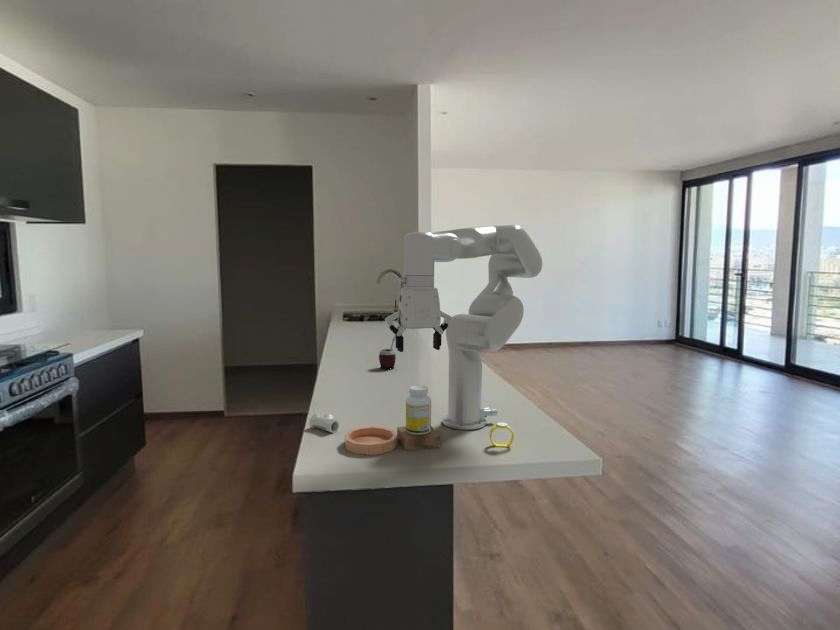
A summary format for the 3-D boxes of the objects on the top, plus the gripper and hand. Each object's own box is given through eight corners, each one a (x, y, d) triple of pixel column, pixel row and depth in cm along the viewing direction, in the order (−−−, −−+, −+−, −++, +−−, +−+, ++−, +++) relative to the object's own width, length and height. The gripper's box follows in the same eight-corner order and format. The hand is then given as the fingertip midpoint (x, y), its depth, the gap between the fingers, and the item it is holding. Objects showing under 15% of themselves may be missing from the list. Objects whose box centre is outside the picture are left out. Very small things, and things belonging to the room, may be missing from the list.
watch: (511, 445, 130) (514, 423, 130) (513, 449, 128) (515, 427, 127) (488, 443, 131) (490, 421, 130) (489, 447, 128) (491, 424, 127)
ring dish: (390, 433, 137) (390, 424, 137) (401, 451, 125) (401, 441, 125) (342, 438, 134) (342, 428, 134) (348, 456, 121) (348, 446, 121)
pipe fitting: (326, 424, 147) (309, 429, 141) (326, 411, 146) (309, 415, 141) (347, 429, 142) (330, 435, 136) (347, 416, 142) (330, 420, 136)
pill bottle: (418, 425, 135) (419, 383, 134) (436, 431, 131) (436, 387, 129) (400, 431, 131) (400, 387, 129) (418, 437, 126) (418, 392, 125)
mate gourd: (376, 369, 214) (376, 334, 212) (382, 366, 221) (382, 332, 219) (394, 370, 212) (394, 335, 210) (398, 366, 220) (398, 332, 218)
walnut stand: (429, 435, 137) (429, 424, 136) (439, 447, 128) (439, 435, 128) (397, 438, 134) (397, 427, 134) (405, 450, 126) (405, 438, 125)
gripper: (389, 283, 120) (389, 354, 122) (456, 282, 125) (455, 351, 127) (381, 282, 127) (381, 349, 129) (445, 281, 132) (445, 345, 134)
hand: (418, 350), depth 128 cm, fingers open, 9 cm apart
